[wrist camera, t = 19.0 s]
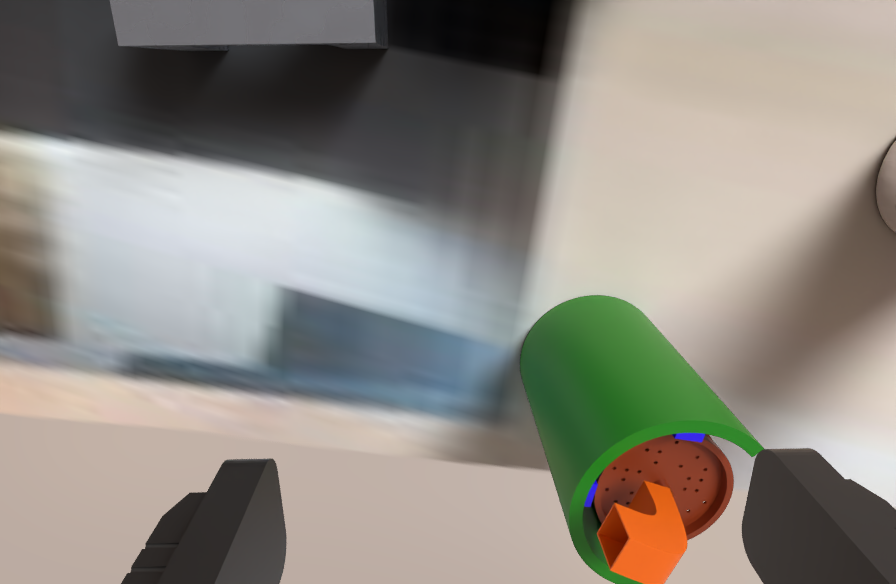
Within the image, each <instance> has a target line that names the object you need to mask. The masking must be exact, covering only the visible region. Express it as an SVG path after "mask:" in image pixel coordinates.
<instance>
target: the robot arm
mask: <svg viewBox="0 0 896 584" xmlns="http://www.w3.org/2000/svg"><path fill="white" fill-rule="evenodd" d="M876 197H877V205H878V208H879V211H880V214H881V217H882V218H883V220H884V221H885V223H886V224H887V226H888V227H889V228H890V229H892V230H893V231H894V232H895V233H896V141H895V142H894V143H893V144H892V146H891V147H890V149H889V151H888V153H887V155H886V156H885V158H884V160H883V163H882V165H881V168H880V171H879V174H878V179H877V186H876ZM742 538H743V543H744V547H745V551H746V554H747V556H748V559H749V561H750V563H751V564H752V566H753V568H754V569H755V571H756V572H757V574H758V575H759V577H760V579H761V580H762V582H763V583H764V584H896V510H895V509H894V508H893V507H892V506H891V505H890V504H889V503H888V502H887V501H885V500H884V499H882V498H881V497H879V496H877V495H876V494H874V493H872V492H871V491H869V490H867V489H866V488H864V487H862V486H861V485H859V484H857V483H856V482H854V481H852V480H851V479H846V480H845V479H844V478H843V477H842V476H841V475H840V474H839V473H838V472H837V471H836V470H835V469H834V468H833V467H832V466H831V465H830V464H829V463H828V462H827V461H826V460H825V459H824V458H823V457H822V456H821V455H820V454H819V453H818V452H817V451H815V450H813V449H810V448H803V449H764V450H761V451H760V452H759V453H758V454H757V456H756V459H755V462H754V467H753V472H752V477H751V482H750V487H749V492H748V497H747V501H746V506H745V511H744V516H743V521H742ZM285 556H286V529H285V521H284V514H283V507H282V499H281V493H280V485H279V478H278V471H277V466H276V463H275V461H274V460H273V459H237V460H226V461H225V462H224V463H223V464H222V465H221V467H220V469H219V471H218V473H217V475H216V476H215V478H214V480H213V482H212V484H211V486H210V487H209V489H208V491H207V492H205V493H204V492H202V493H189V494H188V495H187V496H186V497H184V498H183V499H182V500H181V501H180V502H178V503H177V504H176V505H175V506H174V507H173V508H172V509H170V510H169V511H168V512H167V513H166V514H165V515H164V516H162V518H161V519H160V521H159V523H158V525H157V526H156V528H155V529H154V531H153V533H152V534H151V536H150V537H149V539H148V541H147V542H146V547H145V549H142V550H141V552H140V554H139V555H138V557H137V559H136V560H135V562H134V563H133V565H132V567H131V573H128V574H127V575H126V576H125V578H124V580H123V581H122V583H121V584H279V583H280V580H281V576H282V573H283V569H284V563H285Z"/></svg>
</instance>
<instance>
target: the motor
mask: <svg viewBox="0 0 896 584" xmlns="http://www.w3.org/2000/svg"><path fill="white" fill-rule="evenodd" d="M520 372H521V377H522V381H523V384H524V387H525V390H526V394H527V397H528V400H529V403H530V406H531V410H532V413H533V416H534V419H535V422H536V426H537V429H538V432H539V435H540V439H541V442H542V445H543V448H544V451H545V455H546V458H547V461H548V464H549V467H550V471H551V474H552V477H553V480H554V483H555V487H556V490H557V493H558V496H559V500H560V503H561V506H562V509H563V512H564V516H565V519H566V522H567V525H568V528H569V532H570V535H571V538H572V541H573V544H574V546H575V548H576V550H577V552H578V554H579V555H580V556H581V558H582V559H583V561H584V562H585V563H586V564H587V565H588V566H589V567H590V568H591V569H592V570H593V571H595V572H596V573H597V574H599V575H600V576H602V577H603V578H605V579H607V580H609V581H611V582H613V583H615V584H664V583H665V581H666V580H667V578H668V577H669V575H670V574H671V572H672V571H673V569H674V568H675V566H676V565H677V563H678V562H679V560H680V558H681V557H682V555H683V554H684V552H685V551H686V549H687V540H689V539H691V538H693V537H695V536H697V535H699V534H700V533H702V532H703V531H705V530H706V529H708V528H709V527H710V526H711V525H712V524H713V523H714V522H715V521H716V520H717V519H718V518H719V517H720V516H721V515H722V513H723V512H724V510H725V509H726V507H727V505H728V503H729V501H730V498H731V495H732V491H733V482H734V480H733V472H732V468H731V465H730V463H729V461H728V459H727V458H726V456H725V455H724V454H723V452H722V451H721V450H720V448H719V447H718V446H717V445H716V444H715V443H714V442H713V440H712V439H711V437H710V436H709V435H713V436H717V437H721V438H723V439H726V440H728V441H731V442H733V443H735V444H736V445H738V446H739V447H741V448H742V449H744V450H745V451H746V452H747V453H748V454H749V455H750V456H751V457H753V456H755V455H756V454H758V453H759V452H760V451H761V450H763V449H764V448H763V447H762V446H761V445H760V444H759V443H758V441H757V440H756V439H755V438H754V437H753V436H752V435H751V434H750V432H749V431H748V430H747V429H746V428H745V427H744V426H743V425H742V423H741V422H740V421H739V420H738V419H737V418H736V417H735V416H734V414H733V413H732V412H731V411H730V410H729V409H728V408H727V407H726V405H725V404H724V403H723V402H722V401H721V400H720V399H719V398H718V396H717V395H716V394H715V393H714V392H713V391H712V390H711V389H710V388H709V386H708V385H707V384H706V383H705V382H704V381H703V380H702V379H701V377H700V376H699V375H698V374H697V373H696V372H695V371H694V370H693V368H692V367H691V366H690V365H689V364H688V363H687V362H686V361H685V359H684V358H683V357H682V356H681V355H680V354H679V353H678V352H677V350H676V349H675V348H674V347H673V346H672V345H671V344H670V343H669V341H668V340H667V339H666V338H665V337H664V336H663V335H662V334H661V333H660V331H659V330H658V329H657V328H656V327H655V326H654V325H653V324H652V322H651V321H650V320H649V319H648V318H647V317H646V316H645V315H644V314H643V313H642V312H641V311H640V310H639V309H638V308H636V307H635V306H633V305H632V304H630V303H628V302H626V301H624V300H621V299H618V298H615V297H610V296H601V295H592V296H584V297H579V298H575V299H572V300H569V301H566V302H564V303H562V304H560V305H558V306H556V307H554V308H553V309H551V310H550V311H549V312H547V313H546V314H545V315H544V316H543V317H541V318H540V319H539V320H538V322H537V323H536V324H535V325H534V326H533V328H532V329H531V331H530V332H529V334H528V336H527V338H526V340H525V342H524V345H523V348H522V351H521V357H520ZM703 501H705V502H704V503H703ZM687 510H689V511H687Z"/></svg>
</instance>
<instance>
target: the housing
mask: <svg viewBox="0 0 896 584" xmlns="http://www.w3.org/2000/svg"><path fill="white" fill-rule="evenodd" d="M110 4H111V9H112V14H113V19H114V25H115V30H116V35H117V40H118V45H119V46H127V47H140V48H152V49H165V50H178V51H229V49H228V46H258V45H331V46H336V47H340V48H344V49H388V29H387V6H386V0H110Z"/></svg>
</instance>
